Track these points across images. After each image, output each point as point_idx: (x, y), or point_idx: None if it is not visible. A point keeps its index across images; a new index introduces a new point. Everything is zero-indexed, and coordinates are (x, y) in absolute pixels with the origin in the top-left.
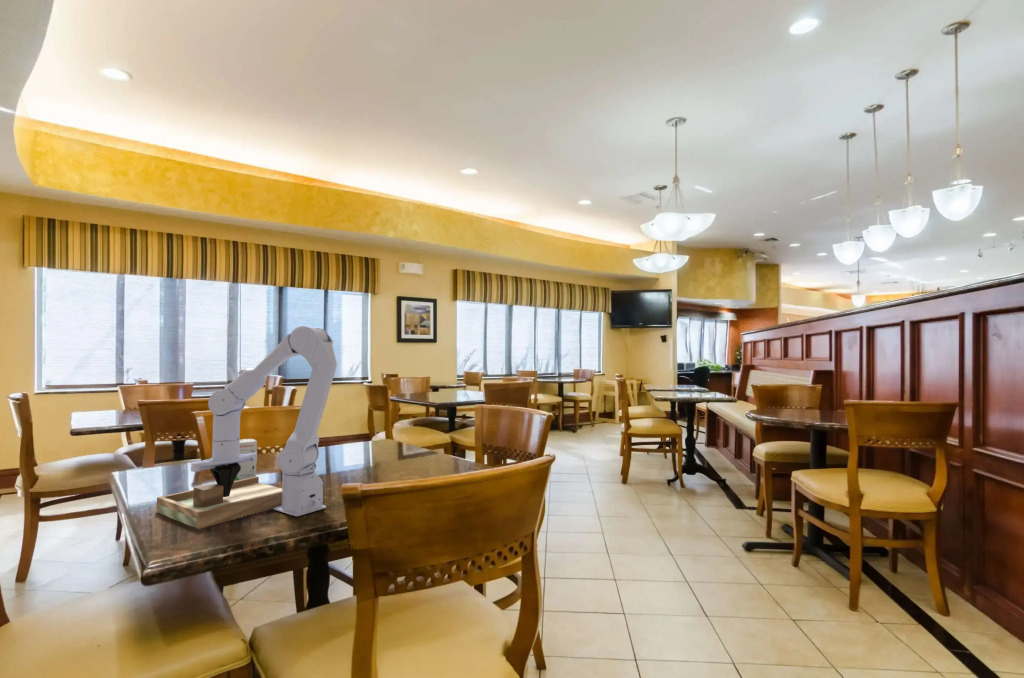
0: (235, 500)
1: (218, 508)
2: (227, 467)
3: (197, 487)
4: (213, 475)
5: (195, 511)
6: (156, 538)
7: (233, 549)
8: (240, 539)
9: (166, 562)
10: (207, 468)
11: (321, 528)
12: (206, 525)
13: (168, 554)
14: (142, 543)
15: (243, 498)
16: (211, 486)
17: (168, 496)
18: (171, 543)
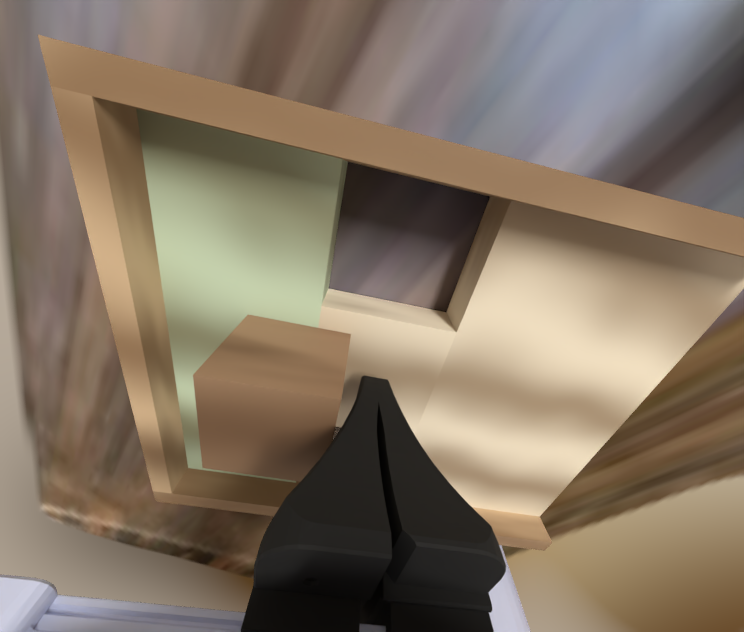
0: None
1: (228, 507)
2: (367, 617)
3: (207, 401)
4: (313, 470)
5: (151, 484)
6: (73, 413)
7: (189, 560)
8: (225, 544)
9: (68, 525)
10: (160, 628)
11: None
12: None
13: (80, 504)
14: (31, 415)
15: (419, 426)
16: (277, 447)
17: (135, 106)
18: (100, 467)
